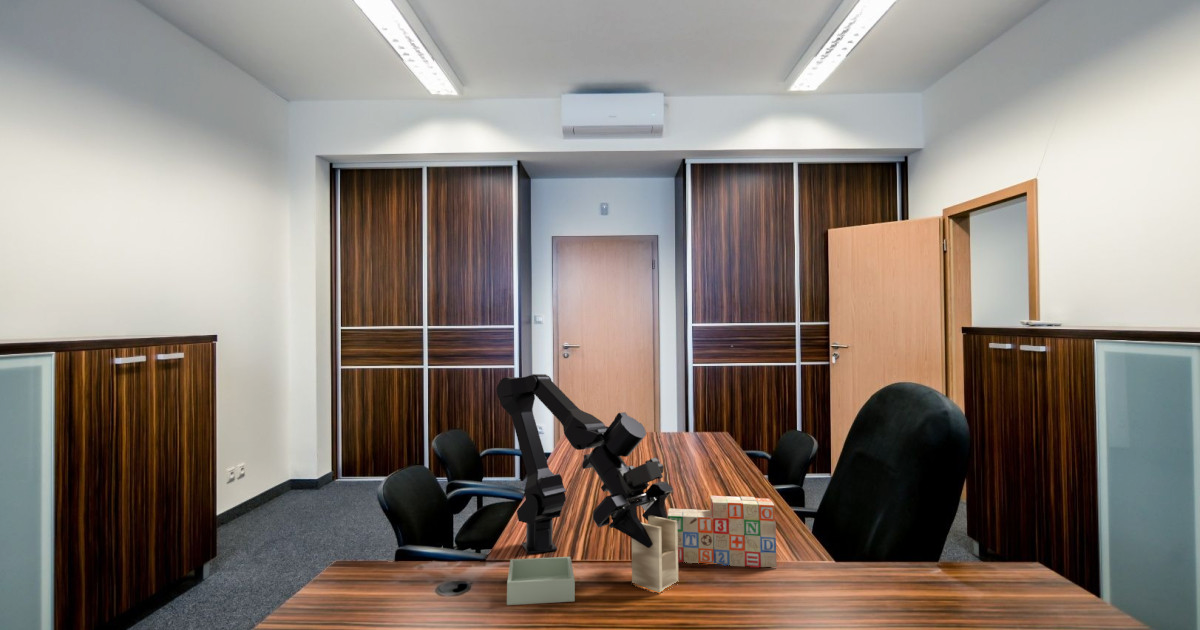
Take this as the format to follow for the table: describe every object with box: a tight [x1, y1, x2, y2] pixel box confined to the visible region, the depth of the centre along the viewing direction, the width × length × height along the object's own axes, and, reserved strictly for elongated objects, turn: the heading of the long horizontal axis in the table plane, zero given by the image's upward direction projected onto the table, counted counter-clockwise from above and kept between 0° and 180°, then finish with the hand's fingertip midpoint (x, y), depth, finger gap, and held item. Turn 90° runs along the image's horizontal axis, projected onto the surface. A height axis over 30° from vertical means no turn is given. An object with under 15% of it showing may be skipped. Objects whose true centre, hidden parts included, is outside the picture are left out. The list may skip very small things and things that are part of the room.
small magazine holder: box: [631, 515, 679, 592], centre depth 94 cm, size 6×6×11 cm
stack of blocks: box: [667, 495, 778, 568], centre depth 107 cm, size 21×6×12 cm, turn 80°
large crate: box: [506, 556, 576, 606], centre depth 92 cm, size 11×11×4 cm
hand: (661, 542), depth 94 cm, fingers closed on small magazine holder, 6 cm apart
